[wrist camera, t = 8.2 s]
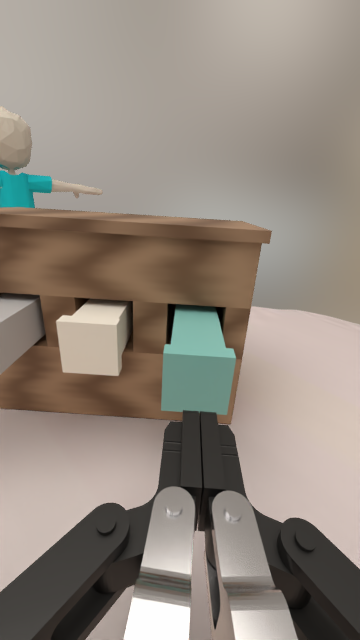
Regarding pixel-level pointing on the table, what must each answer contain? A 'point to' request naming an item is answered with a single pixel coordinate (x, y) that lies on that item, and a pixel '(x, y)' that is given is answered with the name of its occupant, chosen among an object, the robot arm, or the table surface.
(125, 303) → the ivory key
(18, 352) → the grey key
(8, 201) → the toy
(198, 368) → the teal key
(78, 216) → the console
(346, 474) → the table surface
